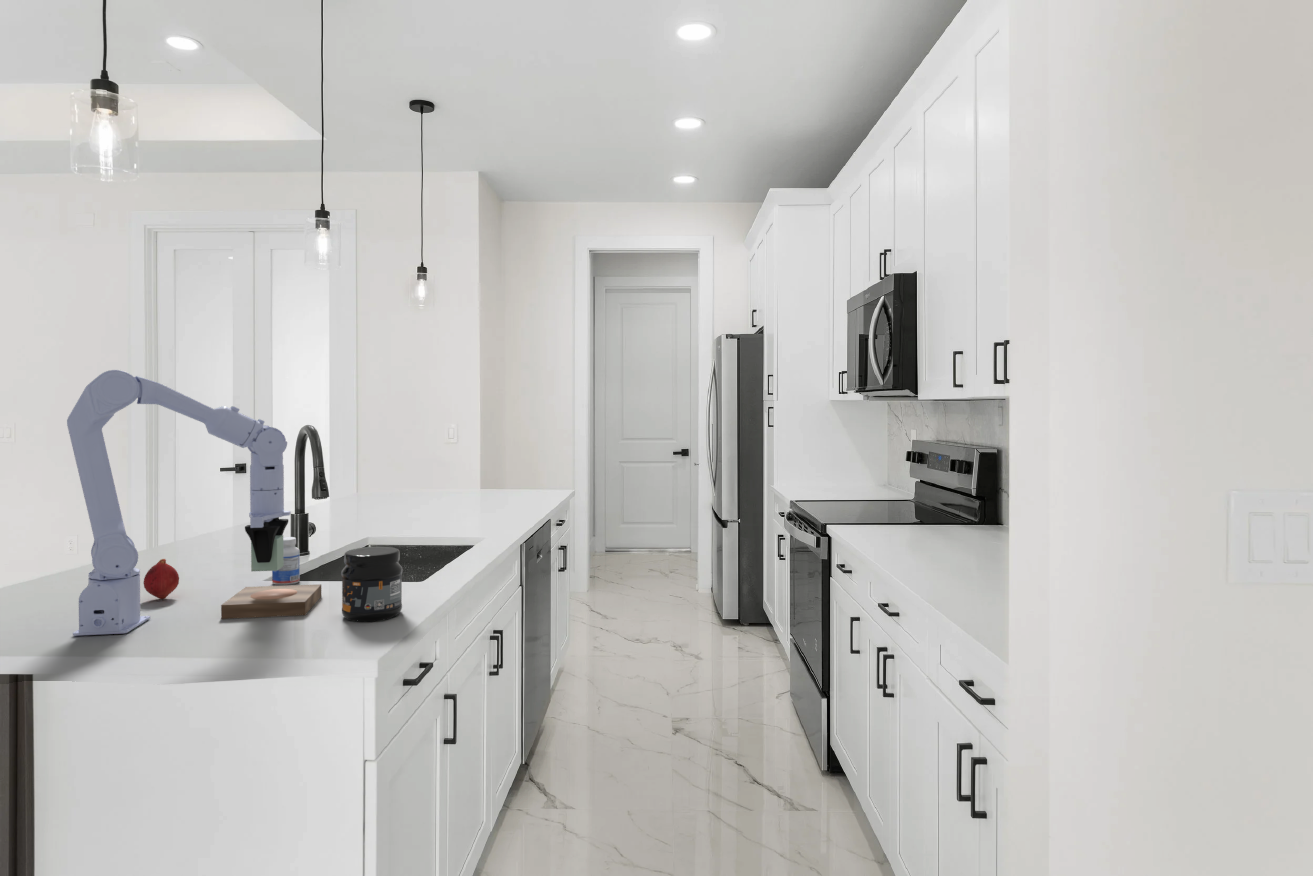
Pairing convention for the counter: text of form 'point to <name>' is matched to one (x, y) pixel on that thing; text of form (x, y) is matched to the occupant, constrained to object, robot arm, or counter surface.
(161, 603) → the counter surface
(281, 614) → the walnut base
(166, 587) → the onion
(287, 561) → the pill bottle
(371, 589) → the supplement container
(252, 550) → the sage block
